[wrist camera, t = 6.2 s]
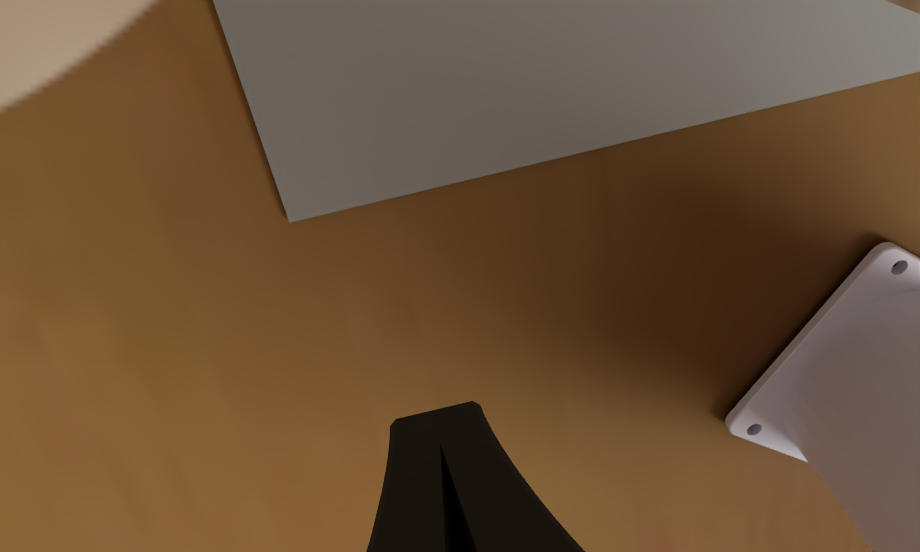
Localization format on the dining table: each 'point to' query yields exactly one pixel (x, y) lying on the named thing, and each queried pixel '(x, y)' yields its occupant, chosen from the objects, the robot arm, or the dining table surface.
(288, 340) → the dining table surface
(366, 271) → the dining table surface
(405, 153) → the mat
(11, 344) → the dining table surface
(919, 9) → the hitch block
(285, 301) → the dining table surface
